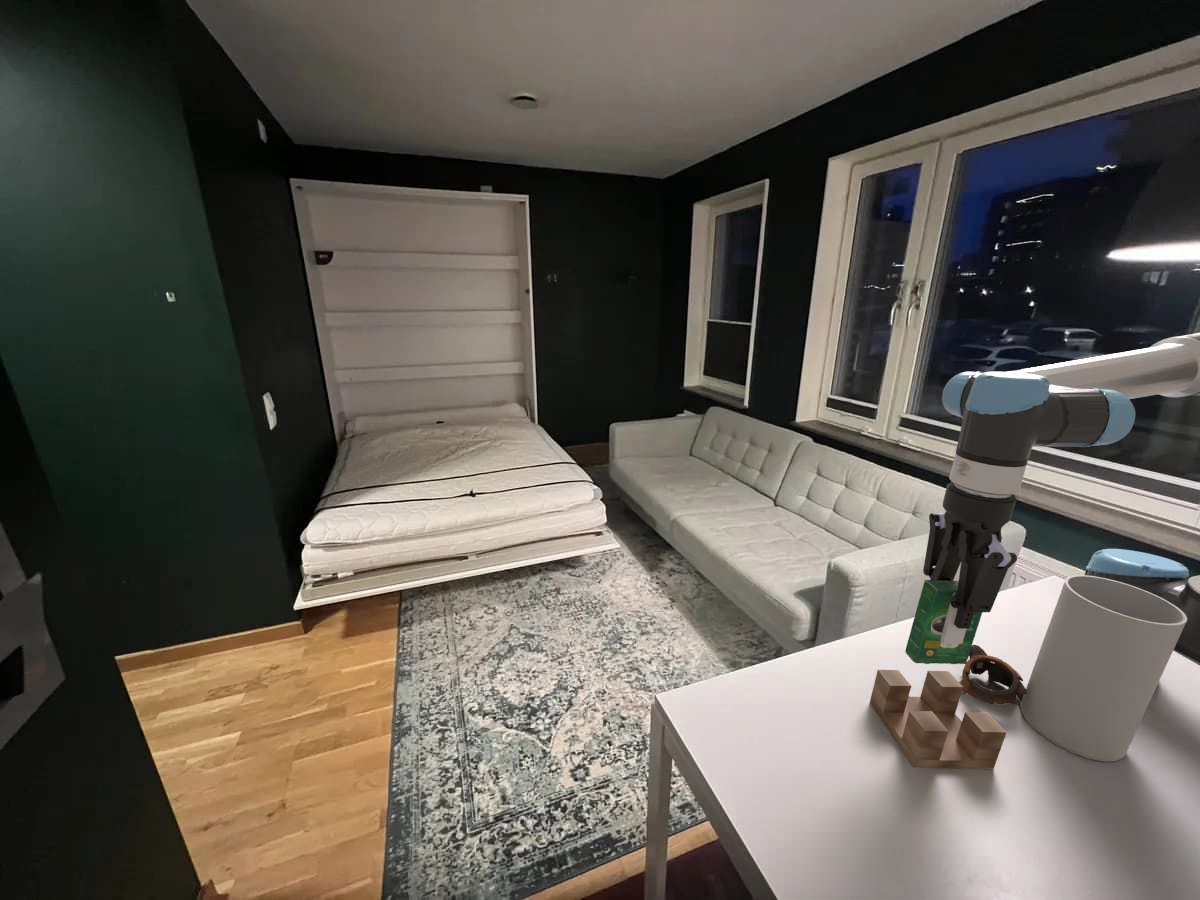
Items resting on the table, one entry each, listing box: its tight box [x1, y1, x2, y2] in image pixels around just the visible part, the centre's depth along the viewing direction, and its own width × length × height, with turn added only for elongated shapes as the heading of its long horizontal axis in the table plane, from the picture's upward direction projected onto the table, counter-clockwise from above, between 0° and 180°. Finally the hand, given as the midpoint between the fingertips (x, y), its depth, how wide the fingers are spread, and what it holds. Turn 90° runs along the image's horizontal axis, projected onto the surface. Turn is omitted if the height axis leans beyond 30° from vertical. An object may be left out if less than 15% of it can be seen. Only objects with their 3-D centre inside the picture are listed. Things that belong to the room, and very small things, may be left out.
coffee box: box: [904, 579, 983, 665], centre depth 70 cm, size 8×3×13 cm, turn 90°
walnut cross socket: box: [869, 669, 1007, 770], centre depth 75 cm, size 12×12×7 cm
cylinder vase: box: [1020, 574, 1187, 763], centre depth 74 cm, size 12×12×25 cm
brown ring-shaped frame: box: [958, 644, 1027, 707], centre depth 85 cm, size 12×10×8 cm
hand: (942, 633), depth 71 cm, fingers closed on coffee box, 3 cm apart
